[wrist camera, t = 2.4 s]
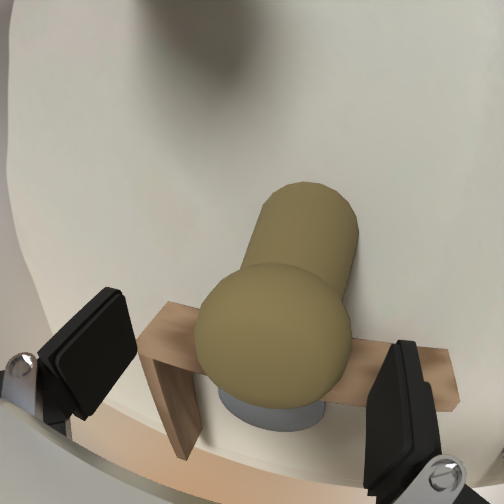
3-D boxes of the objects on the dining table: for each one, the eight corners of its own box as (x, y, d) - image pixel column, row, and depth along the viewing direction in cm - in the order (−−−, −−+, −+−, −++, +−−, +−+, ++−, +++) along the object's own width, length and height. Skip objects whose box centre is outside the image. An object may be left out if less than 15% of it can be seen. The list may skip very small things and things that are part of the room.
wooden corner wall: (447, 349, 18) (460, 401, 14) (370, 461, 28) (367, 496, 23) (168, 301, 23) (134, 341, 19) (193, 426, 33) (177, 457, 28)
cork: (371, 262, 17) (380, 422, 8) (281, 286, 20) (223, 432, 11) (337, 166, 16) (327, 264, 6) (240, 203, 18) (130, 315, 9)
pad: (336, 378, 22) (335, 382, 22) (314, 435, 27) (313, 438, 27) (217, 354, 25) (215, 357, 24) (222, 415, 29) (220, 418, 29)
